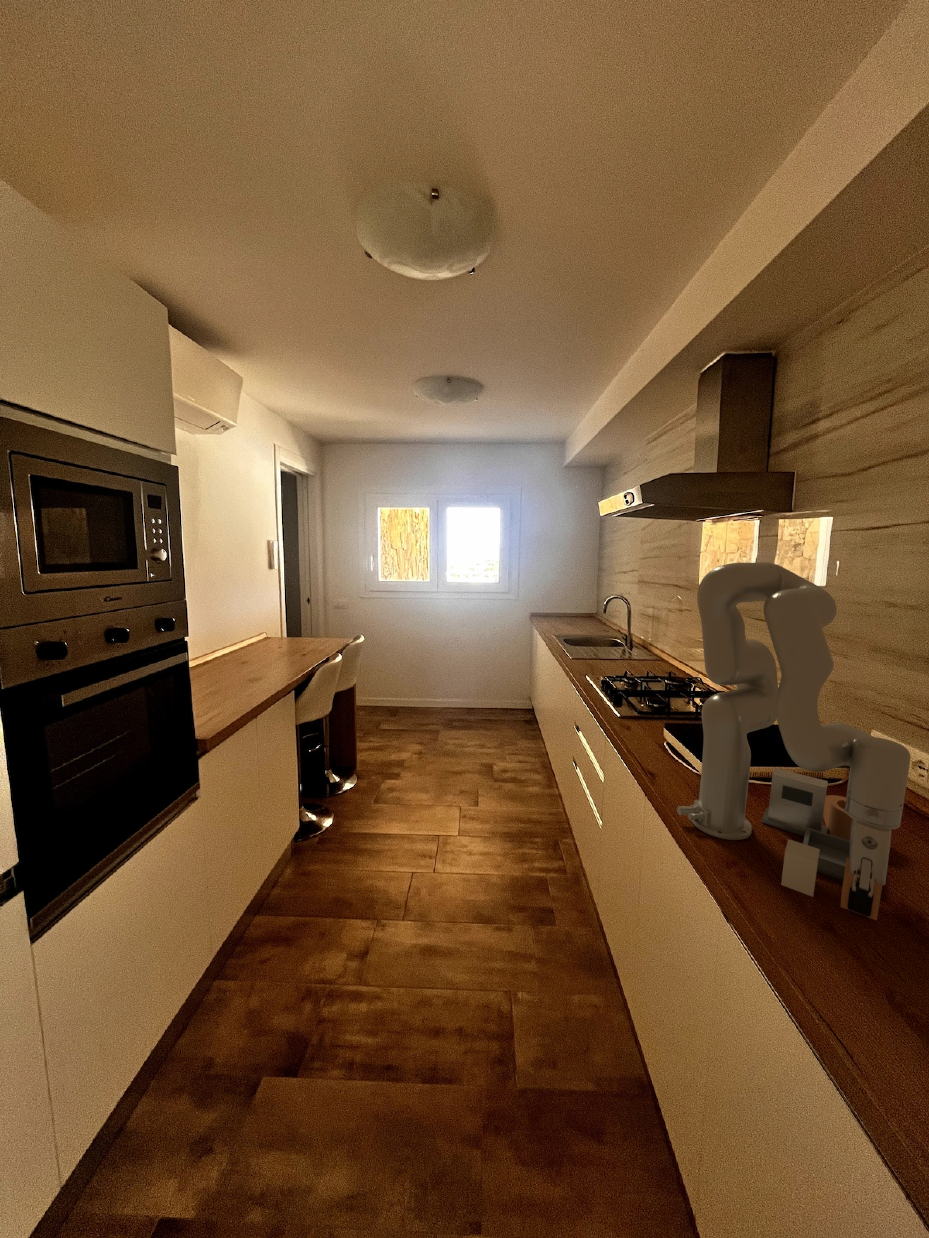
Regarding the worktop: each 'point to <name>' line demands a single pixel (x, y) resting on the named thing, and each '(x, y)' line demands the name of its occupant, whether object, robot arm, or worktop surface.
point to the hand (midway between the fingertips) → (859, 901)
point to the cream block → (800, 867)
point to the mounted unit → (796, 802)
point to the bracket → (837, 817)
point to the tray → (829, 852)
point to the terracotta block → (848, 883)
